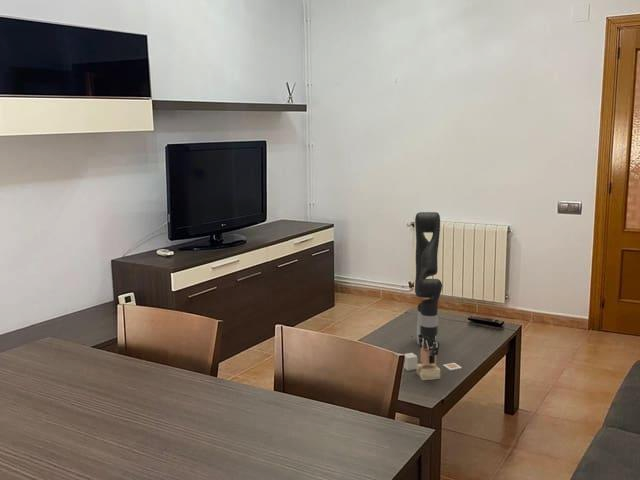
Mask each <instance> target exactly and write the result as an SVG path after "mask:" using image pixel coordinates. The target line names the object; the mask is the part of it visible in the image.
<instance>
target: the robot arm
mask: <svg viewBox="0 0 640 480" xmlns="http://www.w3.org/2000/svg"><path fill="white" fill-rule="evenodd" d="M414 222H415V223H414V227H415V228H414V229H415V230H414V231H415V281H414V294H415V296H416V297H418V298H427V299H423V300H422V301H421V302H420V303H418V305H417V323H416V343H417V344H418V346H419V348H420V349H421V348H426V347H427V349H428V350H429V363H430V364H432V363H434V361H435V355H437V356H438V355H439V349H440V342H437V335H438V333H439V331H438V330H439V326H438V325H439V324H438V323H439V317H438V307H439V305H438V304H439V299H440V296H441V293H442V290H443V283H442V281H441V280H440V279H438V278H429V277H432V276H435V275H437V274H438V252H439V244H440V243H439V242H440V232H441V216H440V214H439V212H435V211H421V212H420V211H419V212H417V213H416V215H415V217H414ZM424 233H426V234H428V233H431V234H432V236H431V239H430V240H429V239H428V238H427V237H426V235H425V234H424ZM430 347H432V348H430ZM431 350H432V353H431ZM435 351H436V352H435Z"/></svg>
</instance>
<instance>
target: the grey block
mask: <svg viewBox="0 0 640 480" xmlns="http://www.w3.org/2000/svg"><path fill="white" fill-rule="evenodd" d="M403 354H404V355H405V364H404V369H405V370H406V371H408V372H409V371H414V370H417V364H419V362H418V361H419V360H418V359H419V358H418V356H417V355H416V354H415V353H413V352H409V353H403Z"/></svg>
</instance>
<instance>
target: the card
mask: <svg viewBox="0 0 640 480" xmlns="http://www.w3.org/2000/svg"><path fill="white" fill-rule="evenodd" d="M442 366H443V367H444V368H446V369H448V370H449V371H454V370H455V371H456V370H459V369H462V366H460V365H459V364H457V363H455V362H451V363H446V364H443V365H442Z"/></svg>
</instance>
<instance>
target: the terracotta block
mask: <svg viewBox="0 0 640 480" xmlns="http://www.w3.org/2000/svg"><path fill="white" fill-rule="evenodd" d="M430 348H433V347H430ZM435 352H436V351H435ZM431 353H432V350H431ZM437 356H438V355H435V361H434V363H432V364H436V365H437V360H438V359H437V358H438V357H437ZM420 362H421V364H422V363H424V364H425V365H431V364H430V363H429V350H428V349H427V347H426V348H420Z"/></svg>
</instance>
